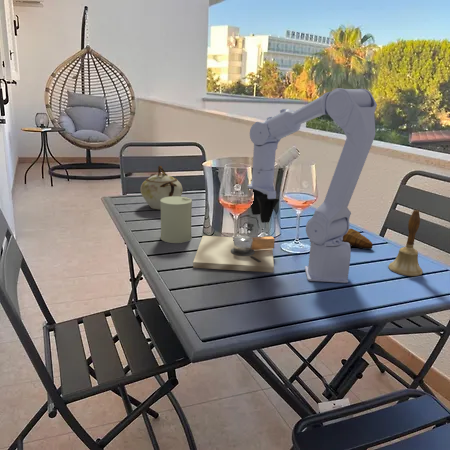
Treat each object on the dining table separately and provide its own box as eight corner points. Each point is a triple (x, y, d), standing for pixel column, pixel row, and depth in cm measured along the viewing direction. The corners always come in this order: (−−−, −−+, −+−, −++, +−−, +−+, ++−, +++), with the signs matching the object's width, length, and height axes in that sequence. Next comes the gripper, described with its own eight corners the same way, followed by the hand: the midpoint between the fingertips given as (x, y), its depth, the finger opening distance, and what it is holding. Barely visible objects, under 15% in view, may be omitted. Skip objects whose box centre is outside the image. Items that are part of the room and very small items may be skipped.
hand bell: (424, 268, 118) (435, 209, 113) (419, 279, 111) (431, 217, 106) (391, 261, 122) (401, 203, 117) (385, 271, 115) (394, 211, 110)
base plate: (271, 244, 131) (271, 238, 130) (273, 272, 112) (273, 266, 111) (202, 240, 132) (202, 234, 131) (193, 267, 113) (193, 261, 112)
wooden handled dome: (236, 254, 117) (237, 242, 116) (231, 247, 122) (231, 236, 121) (276, 251, 120) (276, 240, 119) (269, 244, 125) (270, 234, 124)
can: (195, 241, 131) (196, 201, 127) (164, 244, 128) (164, 203, 124) (186, 231, 139) (186, 193, 135) (157, 234, 136) (156, 195, 132)
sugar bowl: (132, 202, 169) (131, 162, 164) (169, 198, 176) (169, 160, 171) (152, 216, 153) (152, 172, 148) (192, 211, 160) (192, 169, 155)
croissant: (323, 241, 135) (325, 225, 133) (334, 236, 140) (336, 221, 138) (366, 253, 127) (368, 236, 125) (376, 247, 131) (378, 231, 130)
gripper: (240, 163, 124) (238, 211, 128) (258, 174, 111) (255, 227, 115) (264, 163, 126) (261, 210, 130) (285, 173, 113) (281, 225, 117)
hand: (260, 218), depth 123 cm, fingers open, 7 cm apart
